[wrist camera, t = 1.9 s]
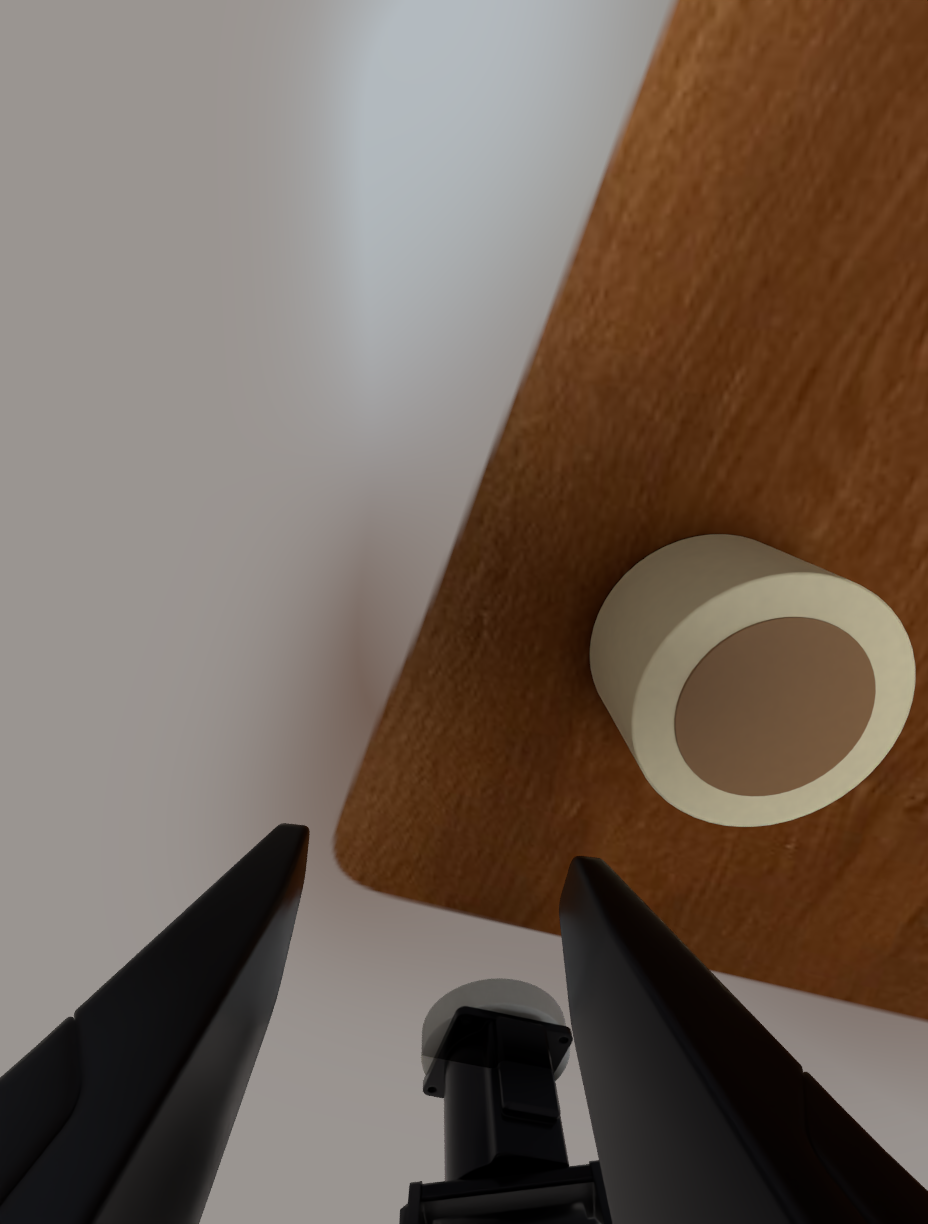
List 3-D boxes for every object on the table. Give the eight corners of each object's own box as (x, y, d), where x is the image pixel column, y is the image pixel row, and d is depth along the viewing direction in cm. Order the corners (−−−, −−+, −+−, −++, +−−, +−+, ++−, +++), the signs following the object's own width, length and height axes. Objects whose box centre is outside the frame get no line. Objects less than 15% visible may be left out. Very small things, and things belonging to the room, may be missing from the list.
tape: (745, 764, 23) (824, 856, 18) (555, 708, 21) (587, 792, 17) (854, 575, 20) (978, 626, 16) (646, 501, 19) (714, 532, 14)
